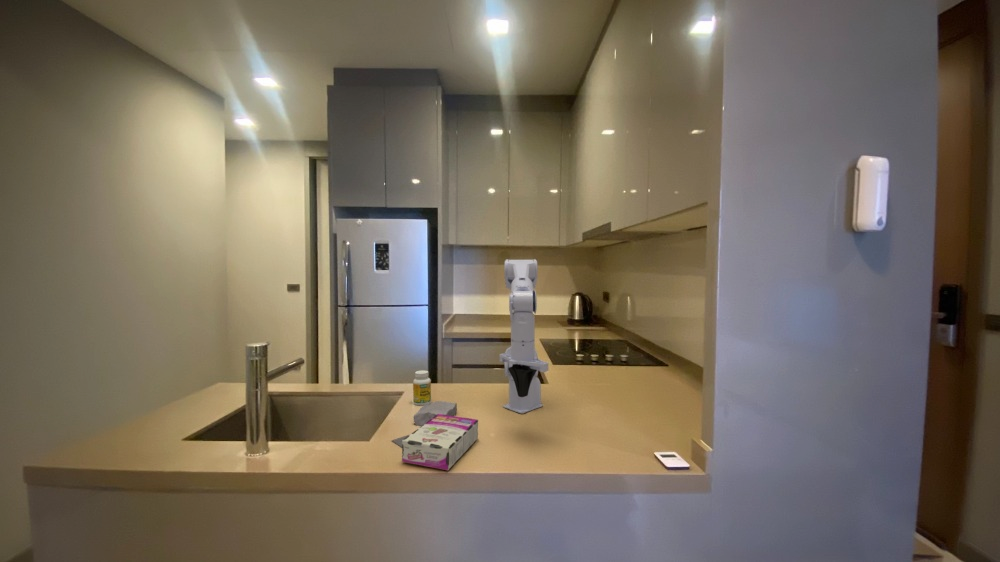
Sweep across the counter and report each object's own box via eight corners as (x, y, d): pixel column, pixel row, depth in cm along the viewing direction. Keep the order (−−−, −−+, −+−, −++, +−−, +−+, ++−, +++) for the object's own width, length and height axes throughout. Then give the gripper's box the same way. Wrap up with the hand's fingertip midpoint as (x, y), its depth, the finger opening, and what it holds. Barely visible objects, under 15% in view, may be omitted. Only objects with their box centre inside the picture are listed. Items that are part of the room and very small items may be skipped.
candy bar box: (437, 432, 100) (400, 462, 84) (438, 413, 99) (400, 439, 84) (479, 439, 96) (448, 472, 80) (479, 419, 96) (448, 447, 80)
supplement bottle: (424, 398, 126) (424, 368, 126) (434, 402, 122) (434, 371, 122) (409, 402, 122) (409, 371, 122) (419, 407, 119) (419, 375, 118)
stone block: (411, 433, 104) (447, 428, 103) (408, 415, 104) (444, 410, 103) (427, 418, 116) (460, 413, 114) (424, 402, 116) (457, 397, 115)
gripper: (490, 338, 98) (490, 392, 99) (534, 346, 88) (534, 407, 88) (510, 335, 103) (510, 386, 104) (554, 342, 93) (554, 400, 93)
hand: (522, 395), depth 96 cm, fingers closed
